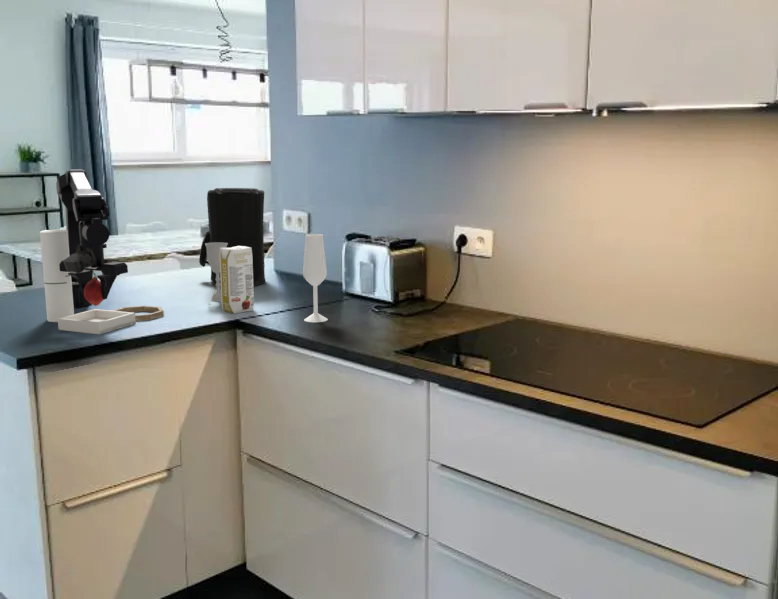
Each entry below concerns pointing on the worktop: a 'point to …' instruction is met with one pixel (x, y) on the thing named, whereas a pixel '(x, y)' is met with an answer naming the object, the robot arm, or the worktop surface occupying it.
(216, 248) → the chalice
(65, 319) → the tray
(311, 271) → the champagne flute
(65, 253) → the cylindrical container
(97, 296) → the onion
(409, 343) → the worktop surface
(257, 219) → the coffee maker
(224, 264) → the juice carton
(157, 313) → the ring collar
